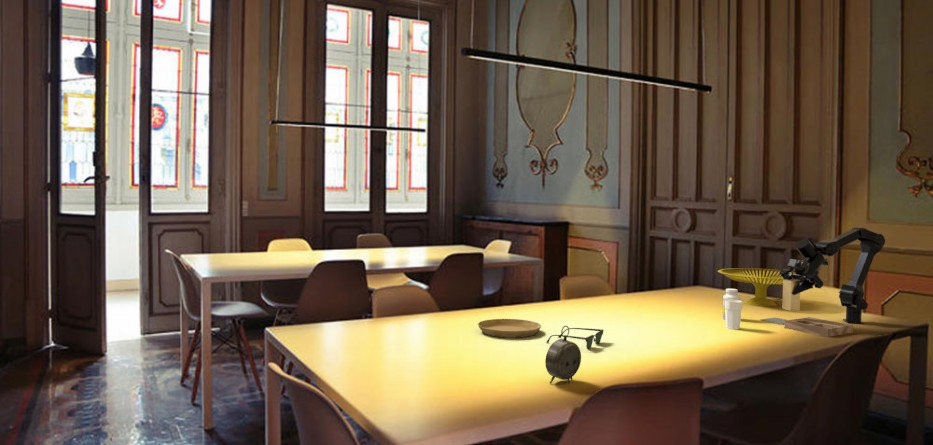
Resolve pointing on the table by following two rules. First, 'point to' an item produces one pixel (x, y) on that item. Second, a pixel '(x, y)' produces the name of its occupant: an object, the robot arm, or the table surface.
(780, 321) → the slate mat
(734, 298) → the supplement bottle
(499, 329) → the plant saucer
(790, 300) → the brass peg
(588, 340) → the sunglasses
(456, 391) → the table surface
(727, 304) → the cup
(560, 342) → the alarm clock
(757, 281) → the slatted pedestal fruit bowl
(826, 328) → the two-hole peg block
